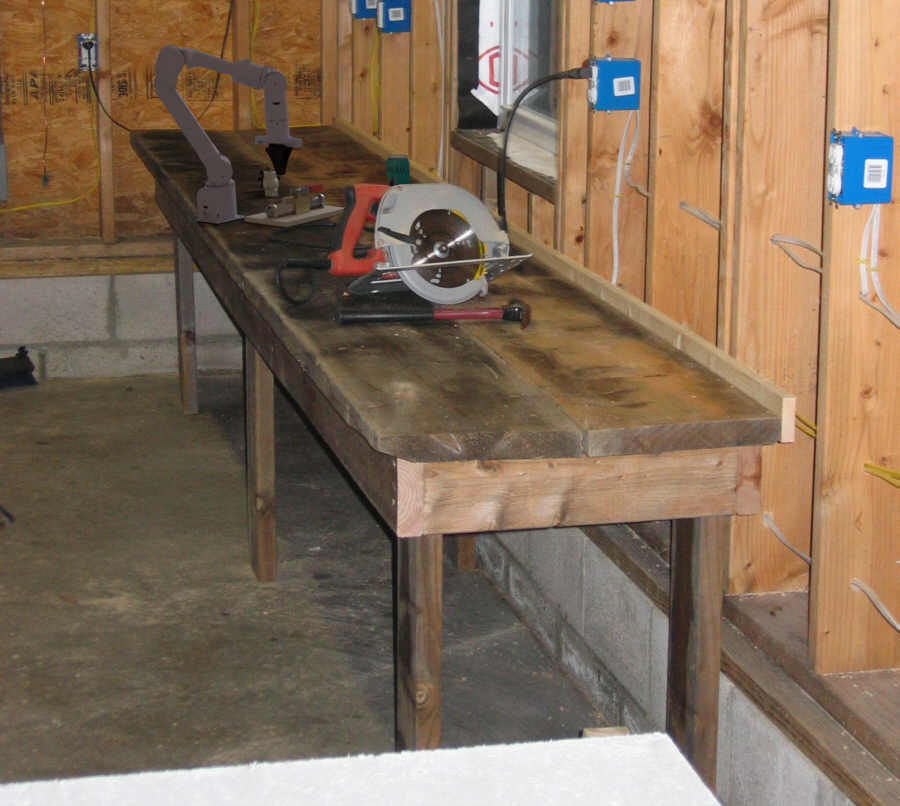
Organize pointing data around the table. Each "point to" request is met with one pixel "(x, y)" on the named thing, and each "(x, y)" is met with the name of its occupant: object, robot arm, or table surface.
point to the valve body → (295, 205)
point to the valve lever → (307, 189)
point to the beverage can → (398, 170)
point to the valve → (269, 182)
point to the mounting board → (295, 217)
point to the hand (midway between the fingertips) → (280, 174)
